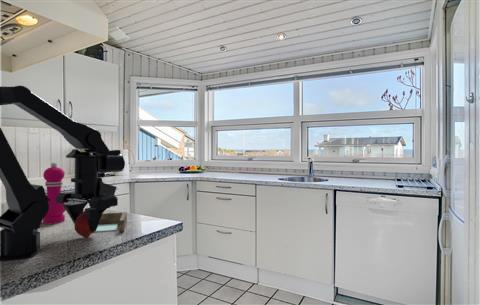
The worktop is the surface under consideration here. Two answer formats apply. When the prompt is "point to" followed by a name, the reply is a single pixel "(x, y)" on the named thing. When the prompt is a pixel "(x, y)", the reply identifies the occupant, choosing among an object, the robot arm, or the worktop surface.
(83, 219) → the onion
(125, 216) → the arena
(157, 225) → the worktop surface
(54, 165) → the pepper mill
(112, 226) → the pad
